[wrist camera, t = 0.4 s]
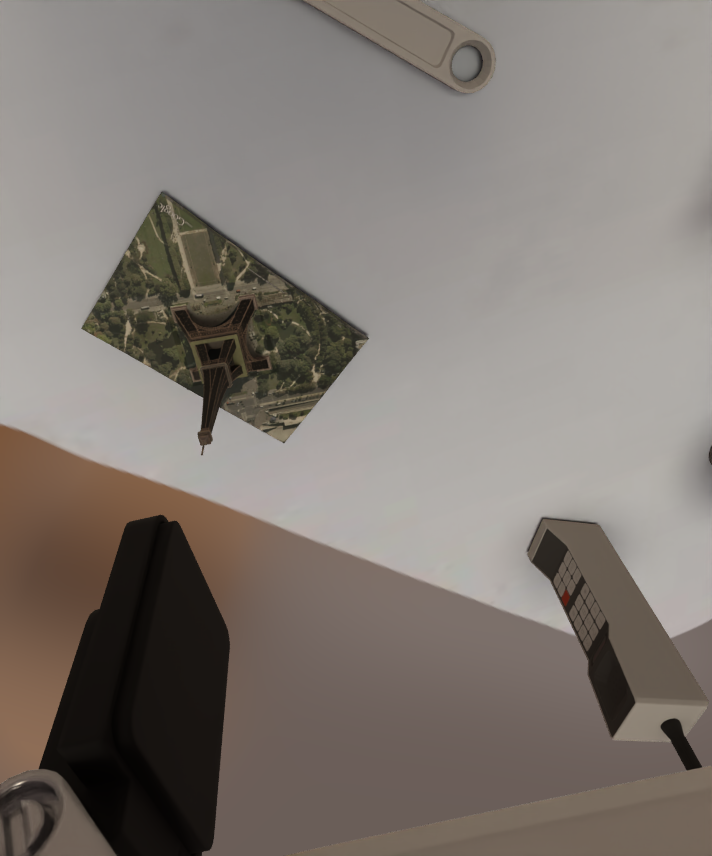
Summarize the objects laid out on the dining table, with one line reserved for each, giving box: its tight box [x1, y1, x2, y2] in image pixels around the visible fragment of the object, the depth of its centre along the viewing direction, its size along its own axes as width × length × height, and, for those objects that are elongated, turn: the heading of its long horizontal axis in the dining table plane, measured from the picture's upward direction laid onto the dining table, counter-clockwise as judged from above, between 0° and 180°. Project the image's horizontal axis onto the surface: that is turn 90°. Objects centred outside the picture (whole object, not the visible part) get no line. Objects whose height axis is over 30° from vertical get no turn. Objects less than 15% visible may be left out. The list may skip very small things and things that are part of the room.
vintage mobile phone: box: [527, 519, 709, 770], centre depth 43 cm, size 4×5×25 cm
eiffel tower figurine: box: [81, 192, 369, 455], centre depth 36 cm, size 15×10×13 cm
